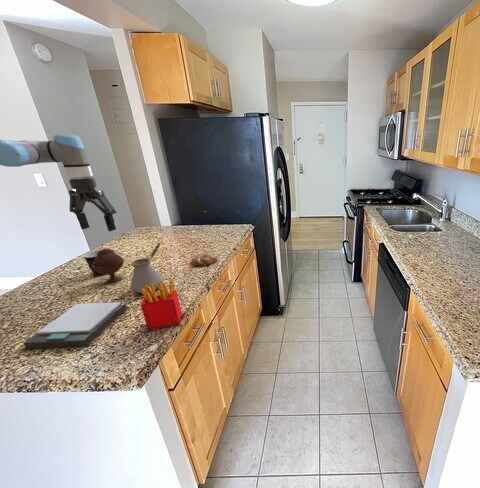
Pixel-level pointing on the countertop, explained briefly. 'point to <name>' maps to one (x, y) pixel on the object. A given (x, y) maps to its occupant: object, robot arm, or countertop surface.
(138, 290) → the coffee pot
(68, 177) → the robot arm
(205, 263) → the pretzel
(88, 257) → the coffee mug
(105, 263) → the ice cream bowl
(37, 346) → the scale
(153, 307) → the french fries container
